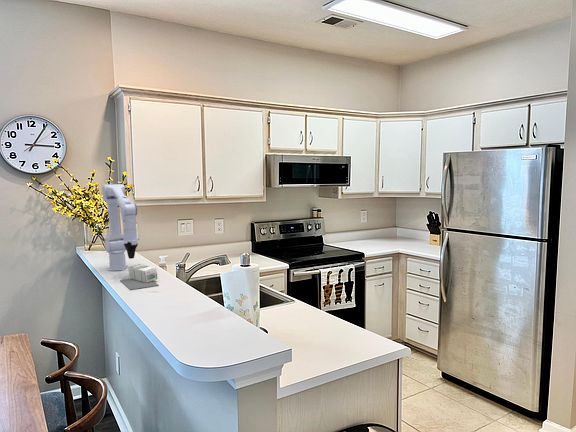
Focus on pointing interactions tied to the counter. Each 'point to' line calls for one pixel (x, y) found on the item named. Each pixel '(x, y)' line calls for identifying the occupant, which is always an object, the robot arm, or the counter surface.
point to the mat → (137, 284)
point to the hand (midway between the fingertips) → (131, 258)
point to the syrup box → (142, 273)
